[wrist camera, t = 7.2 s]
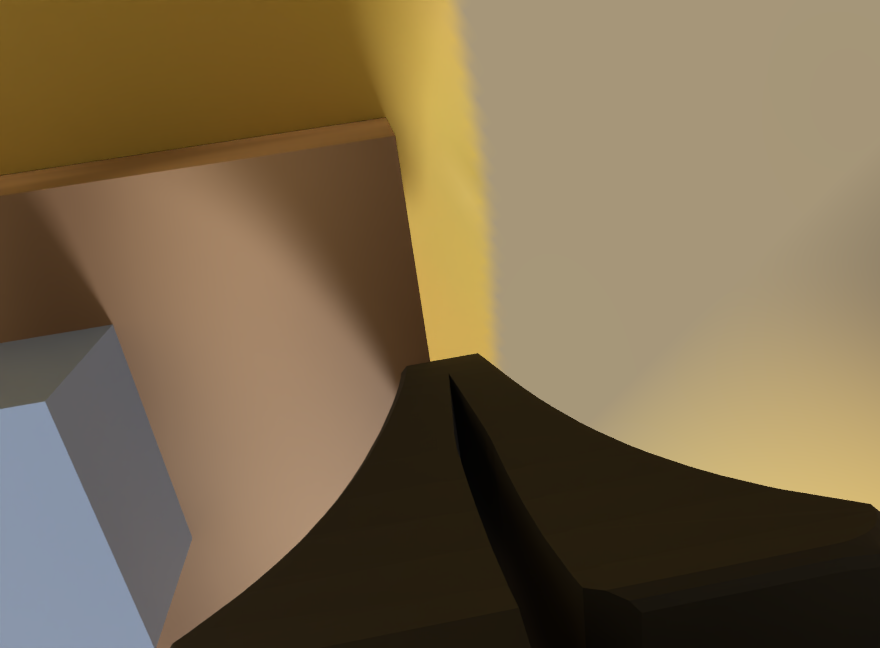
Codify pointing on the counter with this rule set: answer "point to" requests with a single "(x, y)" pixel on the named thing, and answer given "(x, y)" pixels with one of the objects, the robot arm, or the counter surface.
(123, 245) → the walnut board
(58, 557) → the blue-gray block
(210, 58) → the counter surface
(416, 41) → the counter surface
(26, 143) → the counter surface
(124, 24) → the counter surface
